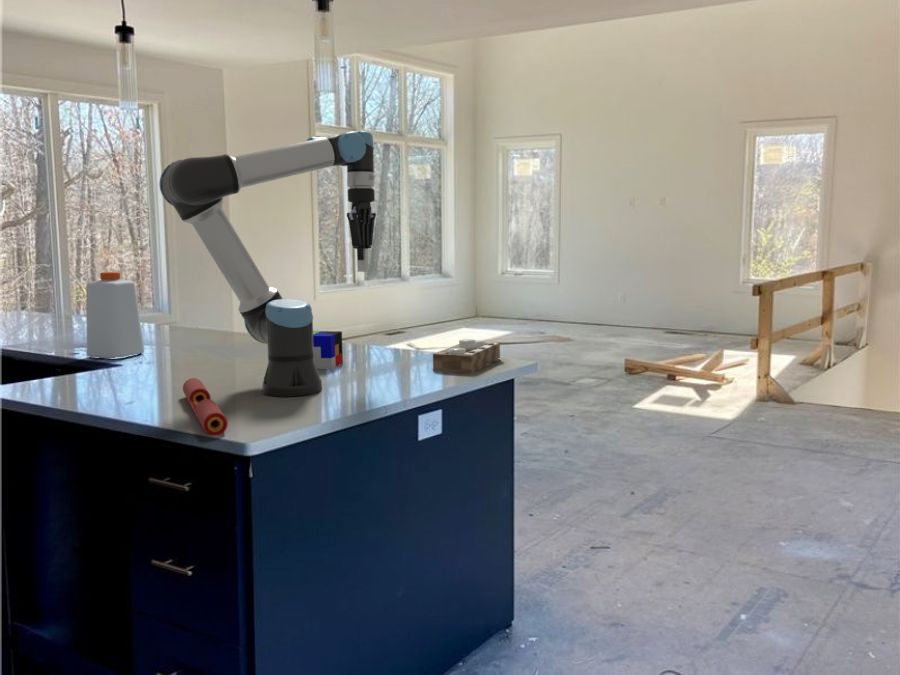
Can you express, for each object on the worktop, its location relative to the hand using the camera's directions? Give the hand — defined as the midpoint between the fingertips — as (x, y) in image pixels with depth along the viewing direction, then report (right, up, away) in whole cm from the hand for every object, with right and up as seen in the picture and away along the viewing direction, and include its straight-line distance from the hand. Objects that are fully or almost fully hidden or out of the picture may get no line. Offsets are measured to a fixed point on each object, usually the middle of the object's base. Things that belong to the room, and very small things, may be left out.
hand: (363, 271), depth 234 cm
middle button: (+30, -24, +12) cm, 41 cm away
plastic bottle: (-87, -25, +39) cm, 99 cm away
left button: (+27, -27, +5) cm, 38 cm away
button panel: (+30, -27, +13) cm, 43 cm away
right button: (+33, -24, +20) cm, 46 cm away
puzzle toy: (-14, -28, +16) cm, 35 cm away
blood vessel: (-32, -37, -44) cm, 66 cm away
